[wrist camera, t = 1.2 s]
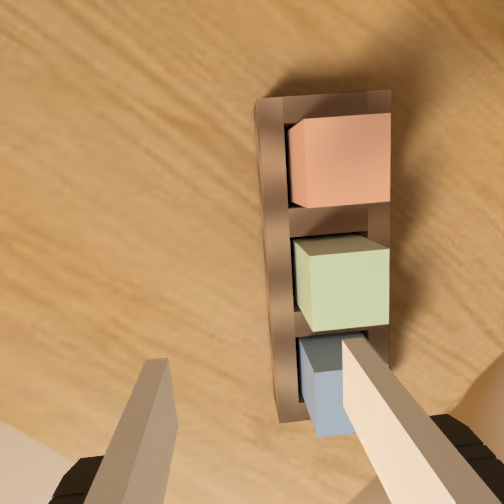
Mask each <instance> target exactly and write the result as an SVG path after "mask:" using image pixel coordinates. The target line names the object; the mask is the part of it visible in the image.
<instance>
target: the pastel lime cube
mask: <svg viewBox="0 0 504 504" xmlns="http://www.w3.org/2000/svg"><path fill="white" fill-rule="evenodd" d="M292 244H293V263H294V282H295V300H296V302H297V304H298V306H299V308H300V309H301V311H302V313H303V315H304V317H305V319H306V320H307V322H308V324H309V326H310V328H311V330H312V331H313V332H317V331H327V330H337V329H346V328H356V327H366V326H375V325H385V324H389V259H390V249H389V248H387V247H384V246H382V245H380V244H378V243H376V242H373V241H371V240H369V239H367V238H365V237H362V236H360V235H358V234H356V233H355V234H344V235H333V236H322V237H310V238H299V239H292Z"/></svg>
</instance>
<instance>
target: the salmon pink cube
mask: <svg viewBox="0 0 504 504" xmlns="http://www.w3.org/2000/svg"><path fill="white" fill-rule="evenodd" d="M287 149H288V168H289V187H290V201H291V202H294V203H296V204H298V205H301V206H303V207H306V208H317V207H329V206H341V205H353V204H365V203H376V202H388V201H390V156H391V113H381V114H367V115H353V116H338V117H324V118H310V119H303V120H302V121H300V122H299V123H298V124H296V125H295V126H293V127H292V128H291V129H289V130H288V131H287Z"/></svg>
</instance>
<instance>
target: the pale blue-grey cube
mask: <svg viewBox="0 0 504 504" xmlns="http://www.w3.org/2000/svg"><path fill="white" fill-rule="evenodd" d="M362 337H363V338H364V339H365V340H366V342H367V343H368V344H369V345H370V346H371V348H372V349H373V350H374V351H375V352H376V354H377V355H378V356H379V357H380V358H381V360H382V361H383V362H384V363H385V364H386V366H387V367H388V364H387V362H386V361H385V360H384V359H383V358H382V357H381V355H380V354H379V353H378V352H377V351H376V349H375V348H374V347H373V346H372V345H371V344H370V342H369V341H368V340H367V339H366V338H365V337H364V335H363V334H362V333H361V332H360V331H352V332H342V333H333V334H323V335H313V336H304V337H297V340H298V359H299V378H300V389H301V392H302V395H303V398H304V401H305V404H306V407H307V410H308V412H309V415H310V418H311V421H312V424H313V427H314V430H315V433H316V436H317V438H320V437H328V436H337V435H345V434H354V433H356V431H355V429H354V427H353V425H352V423H351V421H350V419H349V417H348V415H347V413H346V411H345V409H344V407H343V365H342V340H343V339H352V338H362Z"/></svg>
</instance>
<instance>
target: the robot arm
mask: <svg viewBox="0 0 504 504" xmlns="http://www.w3.org/2000/svg"><path fill="white" fill-rule="evenodd" d="M342 365H343V407H344V409H345V411H346V413H347V415H348V417H349V419H350V421H351V423H352V425H353V427H354V429H355V431H356V433H357V435H358V437H359V439H360V441H361V443H362V445H363V447H364V449H365V451H366V453H367V455H368V457H369V459H370V461H371V463H372V465H373V467H374V469H375V471H376V473H377V475H378V477H379V479H380V481H381V483H382V485H383V487H384V489H385V491H386V493H387V495H388V497H389V499H390V501H391V503H392V504H504V464H503V463H502V462H501V461H500V460H499V459H496V456H495V455H494V454H493V452H492V451H490V449H489V448H488V447H487V446H486V445H485V446H484V445H483V442H482V441H481V440H480V439H479V438H478V437H477V436H476V435H475V434H474V433H473V432H472V430H471V429H470V428H469V427H468V426H466V425H465V424H463V423H461V422H460V421H458V420H456V419H455V418H453V417H452V416H450V415H448V414H442V415H433V416H428V415H427V413H426V412H425V411H424V410H423V409H422V407H421V406H420V405H419V404H418V403H417V401H416V400H415V399H414V398H413V397H412V395H411V394H410V393H409V392H408V391H407V389H406V388H405V387H404V386H403V385H402V383H401V382H400V381H399V380H398V379H397V377H396V376H395V375H394V374H393V373H392V372H391V370H390V369H389V368H388V367H387V366H386V364H385V363H384V362H383V361H382V360H381V358H380V357H379V356H378V355H377V354H376V352H375V351H374V350H373V349H372V348H371V346H370V345H369V344H368V343H367V342H366V340H365V339H364V338H363V337H362V338H352V339H343V340H342ZM177 429H178V422H177V415H176V408H175V401H174V394H173V387H172V380H171V373H170V366H169V359H168V358H161V359H151V360H146V361H145V364H144V366H143V368H142V371H141V373H140V375H139V378H138V380H137V382H136V384H135V387H134V389H133V391H132V394H131V396H130V398H129V400H128V403H127V405H126V407H125V410H124V412H123V414H122V417H121V419H120V421H119V423H118V426H117V428H116V430H115V433H114V435H113V437H112V439H111V442H110V444H109V446H108V449H107V451H106V453H105V456H96V457H88V458H80V459H79V461H78V462H77V463H76V464H75V465H74V466H73V467H72V468H71V469H70V470H69V471H68V472H67V473H66V474H65V475H64V476H63V478H62V480H61V481H60V483H59V485H58V487H57V489H56V491H55V493H54V494H53V496H52V500H51V501H50V502H49V504H163V501H164V496H165V491H166V486H167V481H168V475H169V470H170V465H171V460H172V455H173V450H174V445H175V439H176V434H177Z"/></svg>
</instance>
